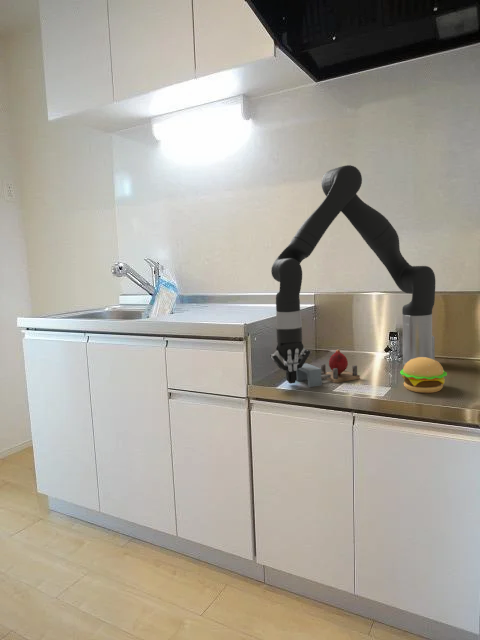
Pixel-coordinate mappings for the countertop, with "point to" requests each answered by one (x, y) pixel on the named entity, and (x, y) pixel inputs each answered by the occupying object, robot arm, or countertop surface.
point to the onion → (338, 362)
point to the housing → (309, 375)
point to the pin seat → (341, 377)
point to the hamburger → (423, 375)
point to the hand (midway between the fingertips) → (291, 382)
